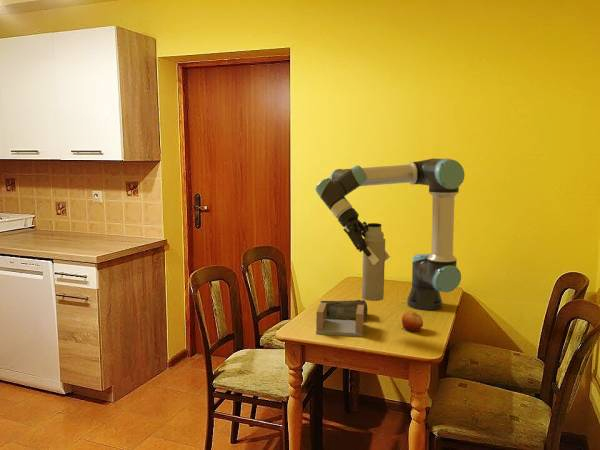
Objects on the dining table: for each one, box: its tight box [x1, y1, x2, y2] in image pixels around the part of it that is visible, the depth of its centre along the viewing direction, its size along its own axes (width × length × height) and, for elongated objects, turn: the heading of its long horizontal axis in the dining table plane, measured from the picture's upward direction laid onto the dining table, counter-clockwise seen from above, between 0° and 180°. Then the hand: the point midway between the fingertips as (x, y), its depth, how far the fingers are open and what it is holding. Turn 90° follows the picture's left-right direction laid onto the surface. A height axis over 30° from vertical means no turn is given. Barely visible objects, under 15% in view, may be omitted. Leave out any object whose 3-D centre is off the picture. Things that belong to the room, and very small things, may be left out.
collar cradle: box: [315, 303, 365, 338], centre depth 197 cm, size 17×14×8 cm
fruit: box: [401, 310, 424, 333], centre depth 197 cm, size 8×8×8 cm
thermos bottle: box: [361, 222, 386, 302], centre depth 190 cm, size 8×8×28 cm
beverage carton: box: [320, 299, 368, 320], centre depth 212 cm, size 8×19×7 cm, turn 91°
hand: (382, 260), depth 188 cm, fingers closed on thermos bottle, 8 cm apart
